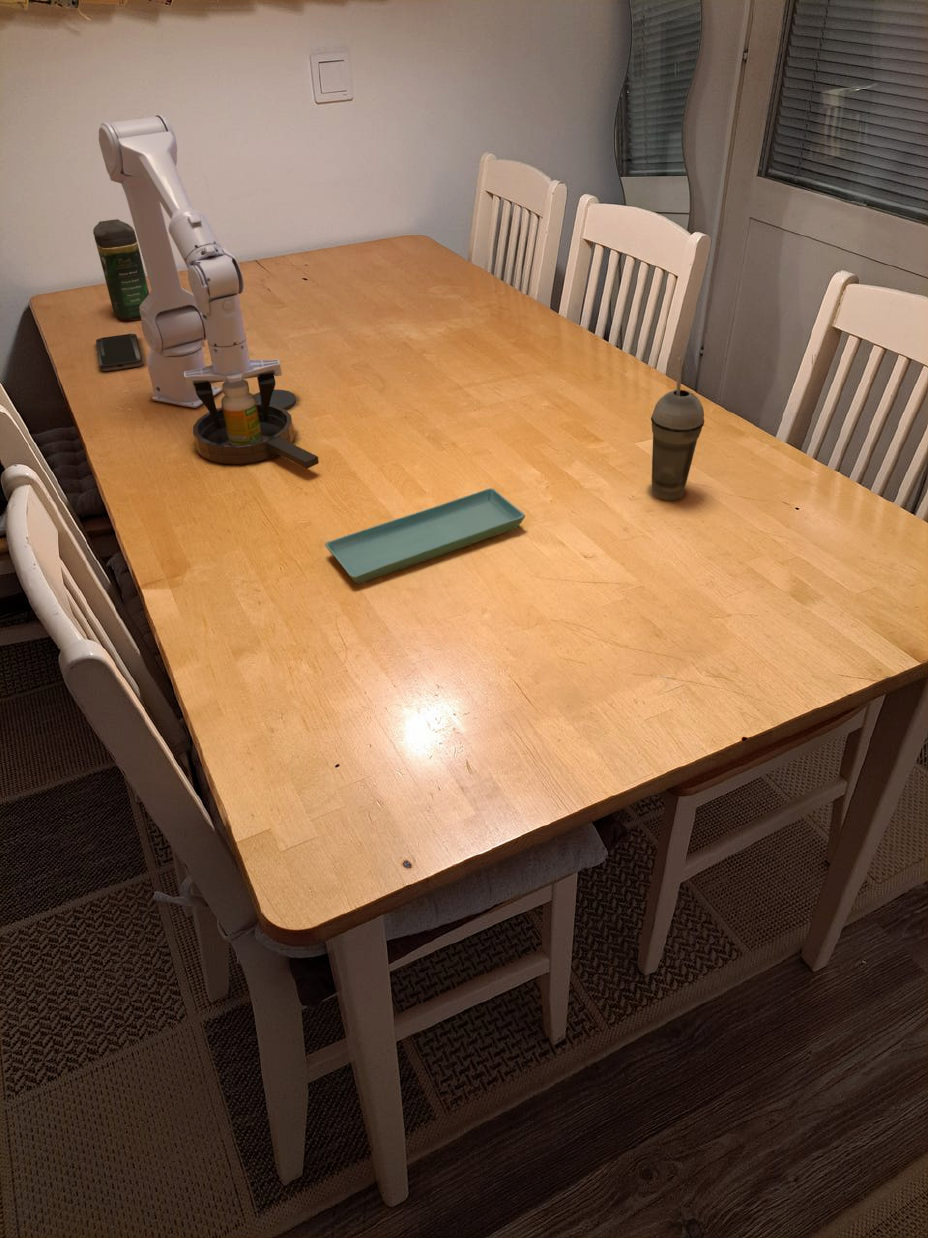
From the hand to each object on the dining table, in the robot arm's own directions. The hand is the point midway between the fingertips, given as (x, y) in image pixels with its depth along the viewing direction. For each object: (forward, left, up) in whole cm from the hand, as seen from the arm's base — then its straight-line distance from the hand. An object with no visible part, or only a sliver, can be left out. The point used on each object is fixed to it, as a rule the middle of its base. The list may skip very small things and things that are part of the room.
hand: (242, 422), depth 145 cm
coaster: (-4, +14, -3) cm, 15 cm away
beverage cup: (+67, +9, -4) cm, 68 cm away
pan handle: (+12, -4, -2) cm, 13 cm away
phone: (-44, +22, -3) cm, 49 cm away
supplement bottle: (0, 0, -3) cm, 3 cm away
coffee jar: (-56, +41, -4) cm, 69 cm away
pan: (0, 0, -3) cm, 3 cm away
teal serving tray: (+40, -16, -4) cm, 43 cm away
